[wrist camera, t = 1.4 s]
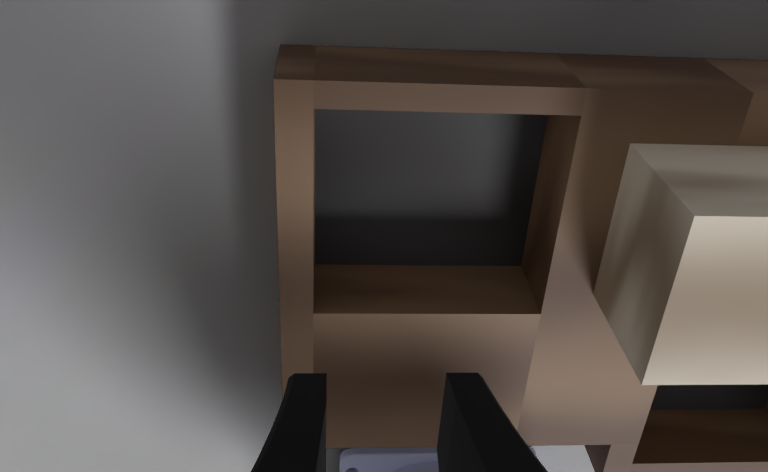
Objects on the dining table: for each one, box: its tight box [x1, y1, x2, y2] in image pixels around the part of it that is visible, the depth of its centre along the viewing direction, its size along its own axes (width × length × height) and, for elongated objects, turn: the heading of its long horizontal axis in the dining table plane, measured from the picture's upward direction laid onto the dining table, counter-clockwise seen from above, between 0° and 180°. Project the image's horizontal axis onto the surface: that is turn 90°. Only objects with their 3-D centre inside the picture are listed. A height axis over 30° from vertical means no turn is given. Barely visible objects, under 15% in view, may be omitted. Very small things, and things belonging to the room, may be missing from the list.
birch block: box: [593, 143, 768, 385], centre depth 19 cm, size 5×5×4 cm
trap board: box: [273, 45, 768, 472], centre depth 23 cm, size 15×26×5 cm, turn 87°
